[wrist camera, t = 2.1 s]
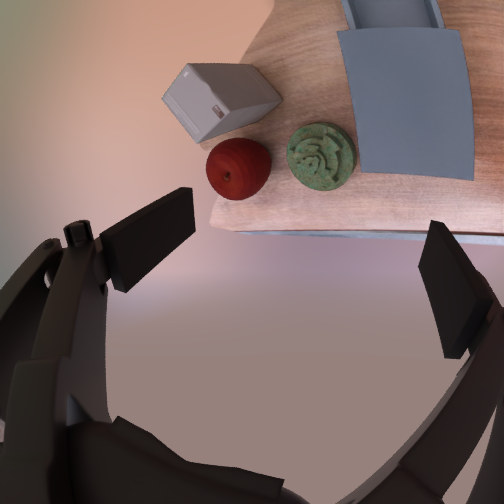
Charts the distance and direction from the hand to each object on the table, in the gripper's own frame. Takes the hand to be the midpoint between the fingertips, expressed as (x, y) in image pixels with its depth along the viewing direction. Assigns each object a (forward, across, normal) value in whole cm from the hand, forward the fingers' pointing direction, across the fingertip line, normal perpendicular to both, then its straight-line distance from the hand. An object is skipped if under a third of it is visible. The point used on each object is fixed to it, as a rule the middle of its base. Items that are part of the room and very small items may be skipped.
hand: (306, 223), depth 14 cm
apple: (+32, -13, -2) cm, 34 cm away
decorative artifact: (+29, -1, 0) cm, 29 cm away
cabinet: (+25, +11, +10) cm, 29 cm away
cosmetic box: (+30, -12, +9) cm, 34 cm away
